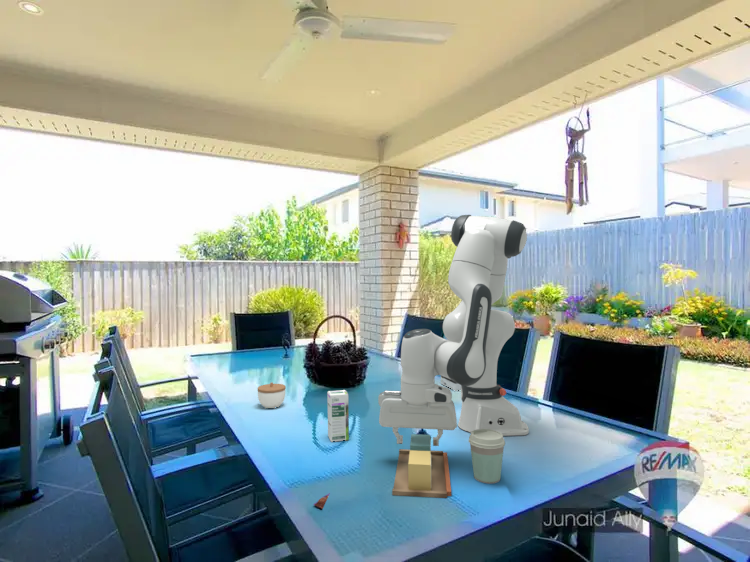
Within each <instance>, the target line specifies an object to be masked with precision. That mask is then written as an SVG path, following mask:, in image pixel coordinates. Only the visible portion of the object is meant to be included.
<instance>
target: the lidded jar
mask: <svg viewBox="0 0 750 562" xmlns="http://www.w3.org/2000/svg"><path fill="white" fill-rule="evenodd" d="M257 396H258V397H257V398H258V402H259V403H260V405H261V406H263V408H264V407H265V408H264V409H266V408H274V409H276V408H275V407H278V408H279V406H281V405H282V404H283V402H284V401H285V397H286V385H285V384H282V383H274V382H273V381H272V382H271V381H270V383H267V384H266V383H265V384H263V385H259V386H258V387H257Z"/></svg>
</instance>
